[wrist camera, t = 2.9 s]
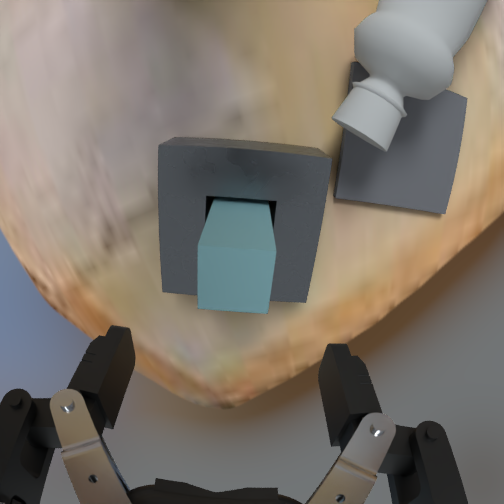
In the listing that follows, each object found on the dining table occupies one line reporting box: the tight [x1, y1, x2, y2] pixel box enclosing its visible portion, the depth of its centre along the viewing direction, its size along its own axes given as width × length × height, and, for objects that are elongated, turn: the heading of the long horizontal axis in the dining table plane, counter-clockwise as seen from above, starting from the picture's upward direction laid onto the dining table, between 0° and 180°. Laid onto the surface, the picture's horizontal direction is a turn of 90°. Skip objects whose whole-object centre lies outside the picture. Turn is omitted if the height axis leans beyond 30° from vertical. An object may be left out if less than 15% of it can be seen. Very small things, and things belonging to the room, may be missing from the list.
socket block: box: [158, 137, 332, 303], centre depth 25 cm, size 12×12×5 cm
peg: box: [198, 196, 276, 314], centre depth 22 cm, size 4×4×12 cm
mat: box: [333, 62, 467, 214], centre depth 24 cm, size 12×12×1 cm
